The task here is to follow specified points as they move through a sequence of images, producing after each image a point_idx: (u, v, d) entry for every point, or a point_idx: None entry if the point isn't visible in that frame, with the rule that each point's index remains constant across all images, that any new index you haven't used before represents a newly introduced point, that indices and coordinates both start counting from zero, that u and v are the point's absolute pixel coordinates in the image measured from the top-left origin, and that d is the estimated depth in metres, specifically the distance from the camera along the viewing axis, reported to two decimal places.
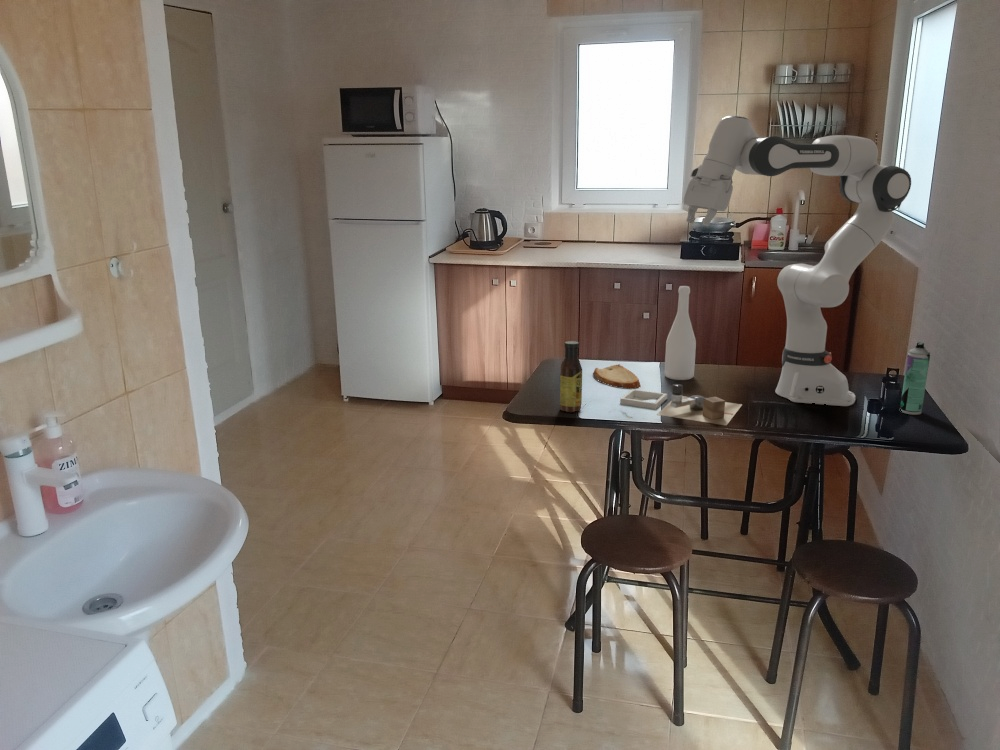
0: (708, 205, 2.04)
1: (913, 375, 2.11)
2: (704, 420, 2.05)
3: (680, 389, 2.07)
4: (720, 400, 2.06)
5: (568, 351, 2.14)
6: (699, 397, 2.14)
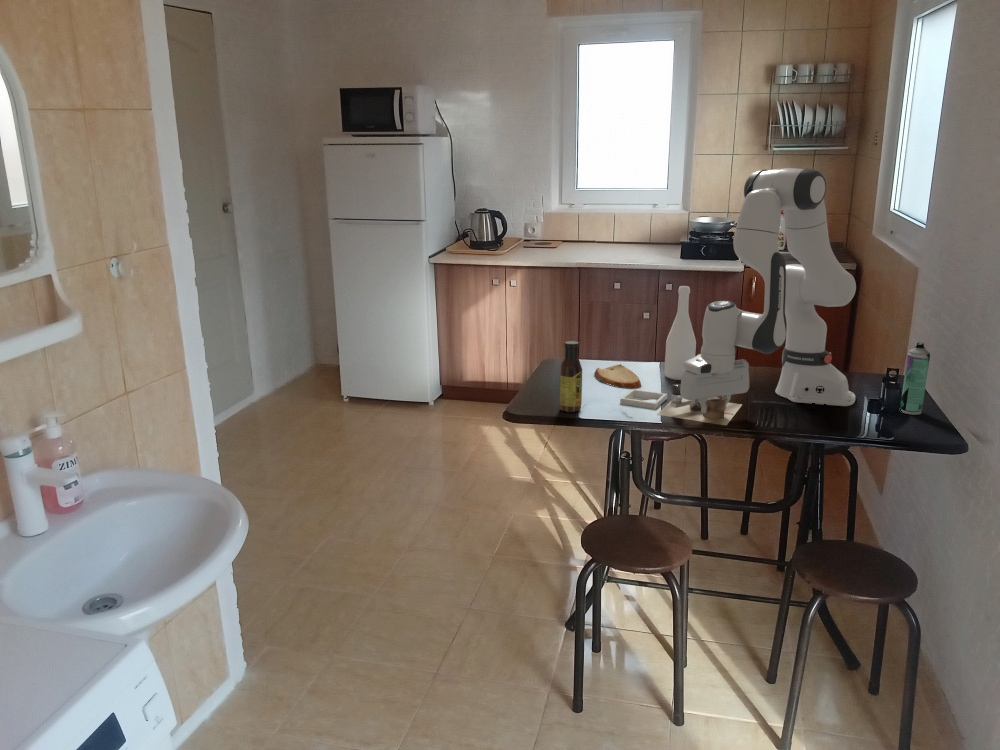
0: (737, 392, 2.07)
1: (914, 375, 2.11)
2: (704, 420, 2.05)
3: None
4: (720, 400, 2.06)
5: (568, 351, 2.14)
6: None
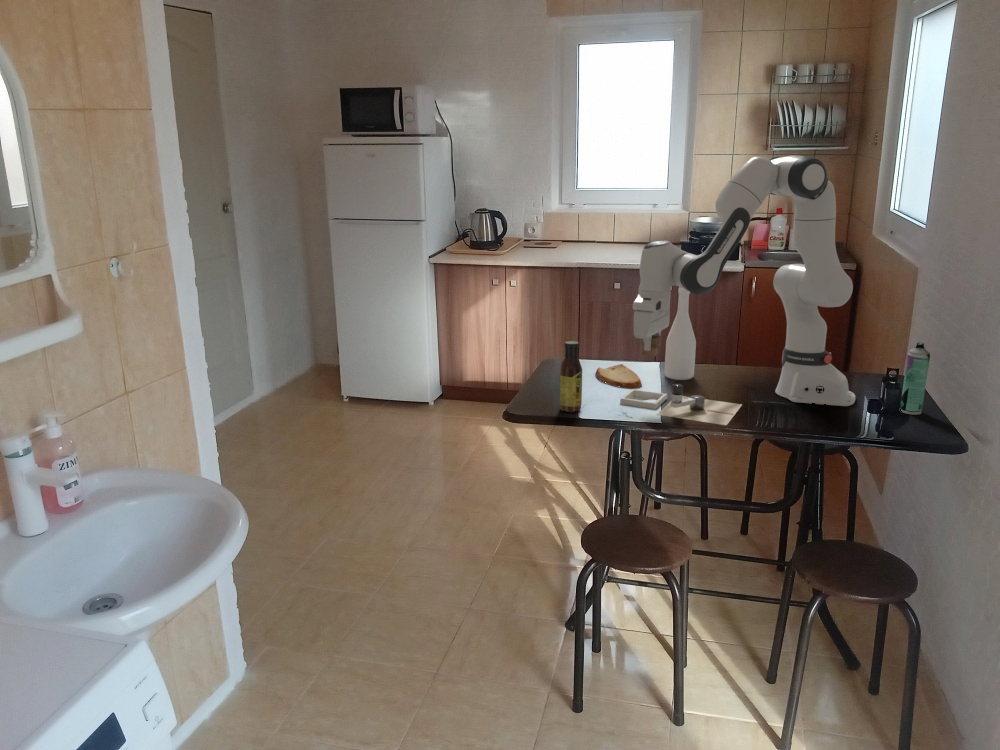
0: (665, 327, 2.19)
1: (913, 375, 2.11)
2: (704, 420, 2.05)
3: (680, 389, 2.07)
4: (657, 336, 2.15)
5: (567, 351, 2.14)
6: (699, 397, 2.14)
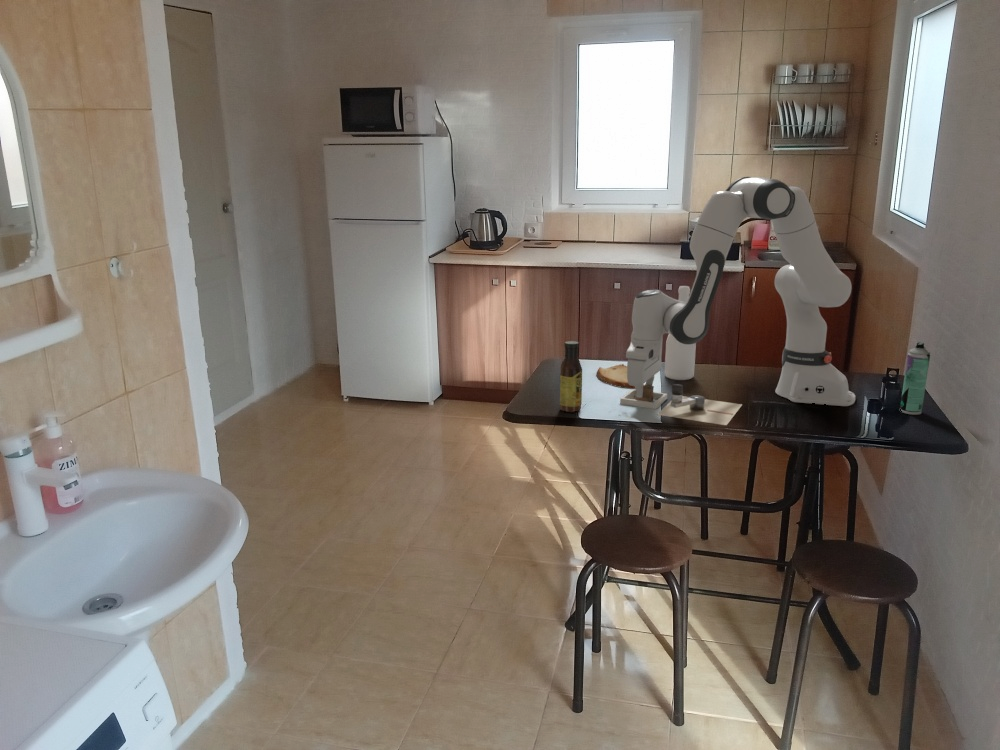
0: (657, 371, 2.24)
1: (914, 375, 2.11)
2: (704, 420, 2.05)
3: (680, 389, 2.07)
4: (650, 386, 2.21)
5: (567, 351, 2.14)
6: (699, 397, 2.14)
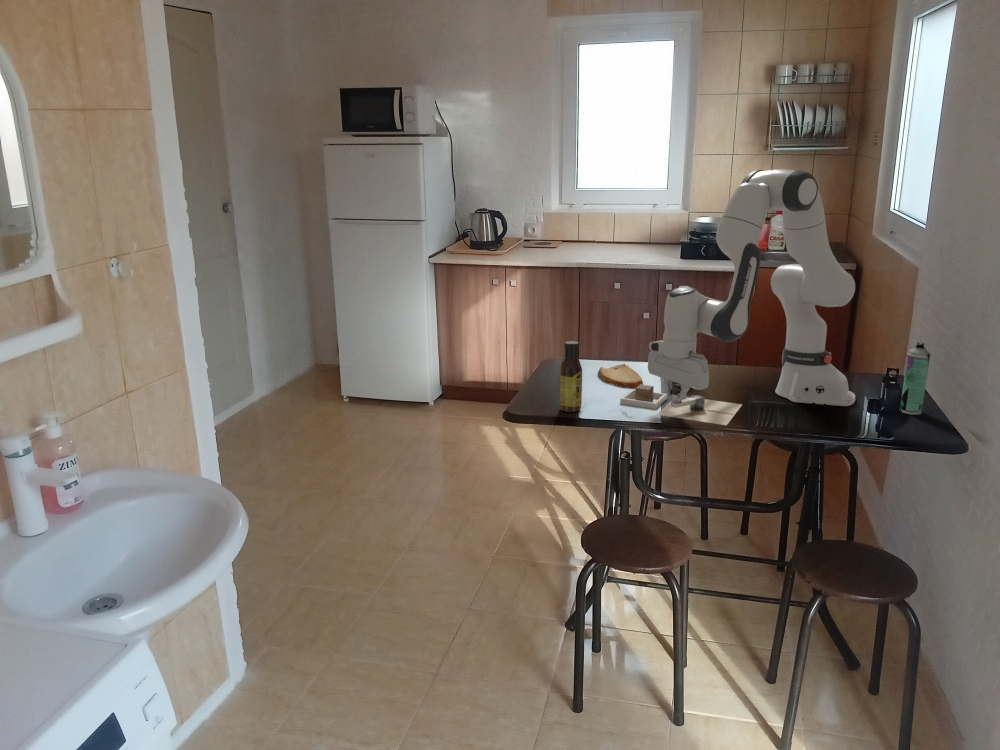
0: (688, 385, 2.02)
1: (914, 375, 2.11)
2: (704, 420, 2.05)
3: (680, 389, 2.07)
4: (650, 386, 2.21)
5: (568, 351, 2.14)
6: (699, 397, 2.14)
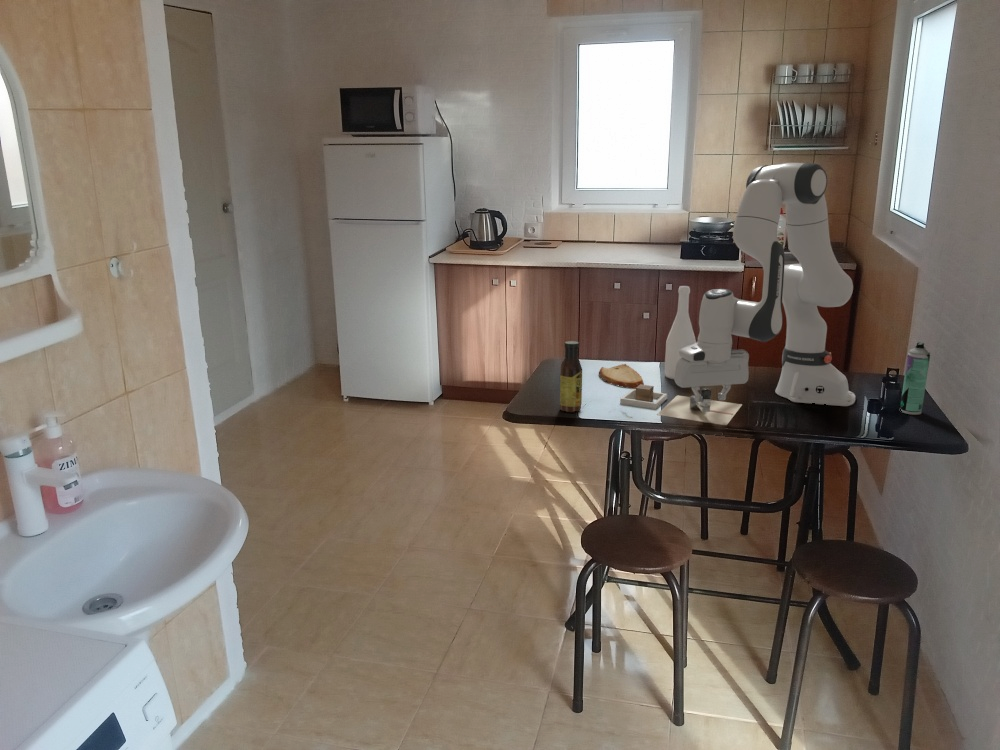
0: (735, 382, 2.04)
1: (914, 375, 2.11)
2: (704, 420, 2.05)
3: None
4: (650, 386, 2.21)
5: (568, 351, 2.14)
6: None
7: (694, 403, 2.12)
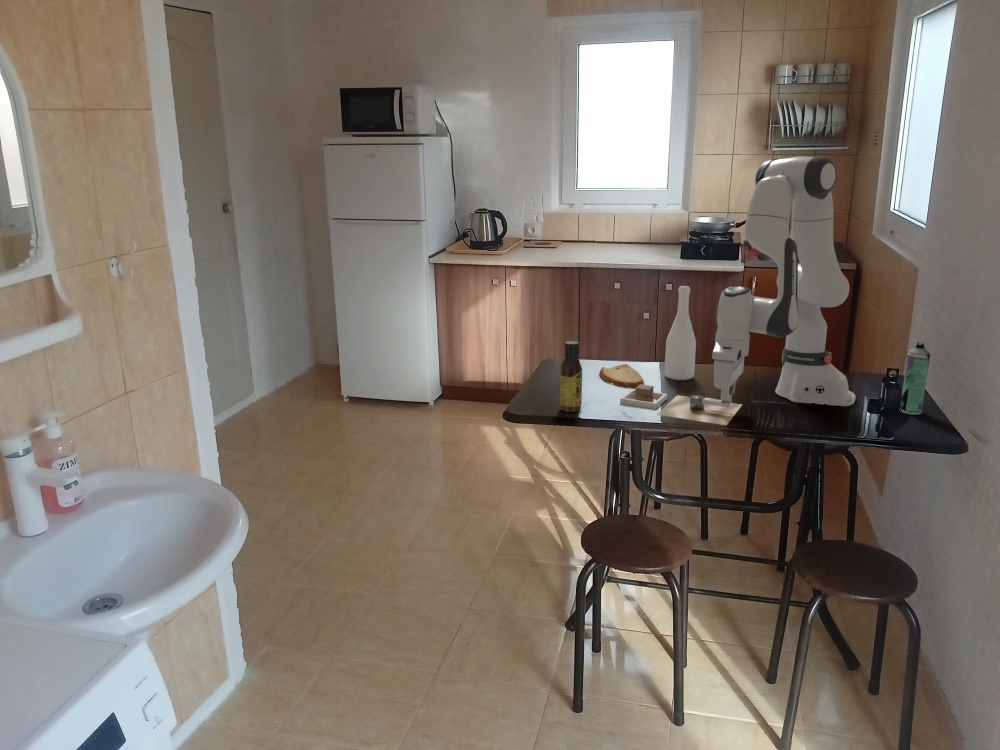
0: (740, 373, 2.12)
1: (914, 375, 2.11)
2: (704, 420, 2.05)
3: None
4: (650, 386, 2.21)
5: (567, 351, 2.14)
6: (696, 396, 2.14)
7: (701, 403, 2.12)
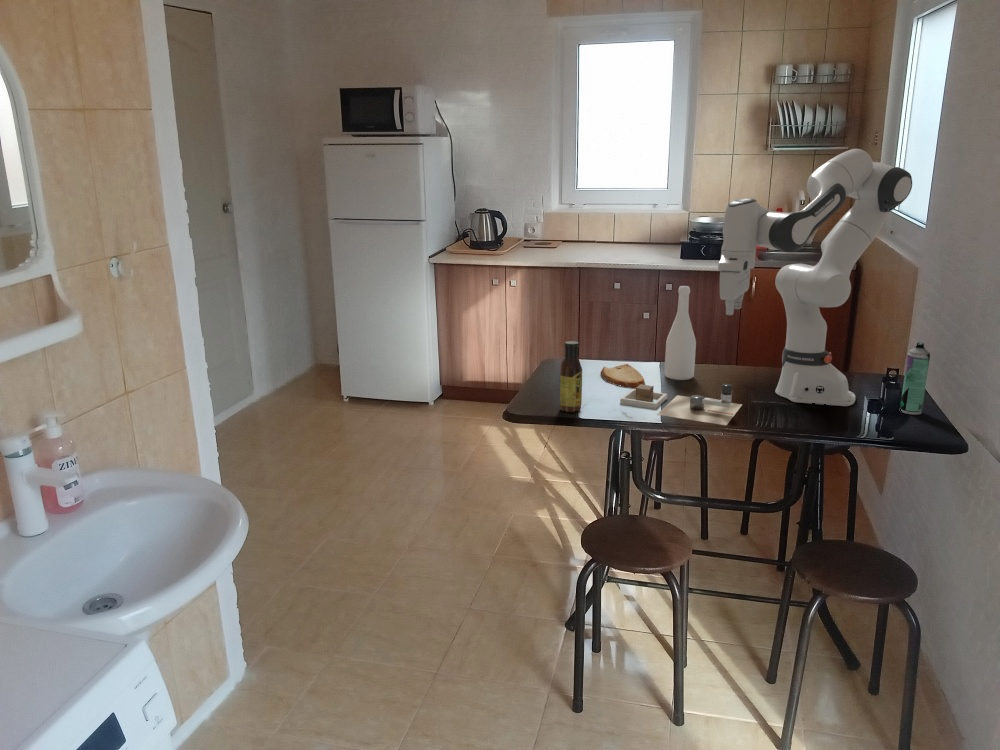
0: (746, 290, 2.11)
1: (913, 375, 2.11)
2: (704, 420, 2.05)
3: None
4: (650, 386, 2.21)
5: (567, 351, 2.14)
6: (696, 396, 2.14)
7: (701, 403, 2.12)
